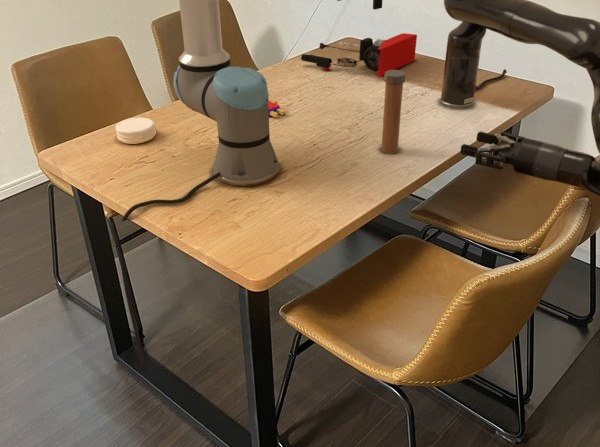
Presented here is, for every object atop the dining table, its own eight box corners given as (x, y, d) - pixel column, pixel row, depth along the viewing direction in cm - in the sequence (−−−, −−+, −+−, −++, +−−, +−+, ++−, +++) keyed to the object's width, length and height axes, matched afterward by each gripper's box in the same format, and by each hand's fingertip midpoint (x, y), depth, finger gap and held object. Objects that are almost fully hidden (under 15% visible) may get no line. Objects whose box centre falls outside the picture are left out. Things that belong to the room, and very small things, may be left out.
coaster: (128, 148, 157) (126, 135, 155) (110, 136, 163) (108, 123, 162) (163, 136, 162) (161, 124, 161) (144, 125, 169) (142, 113, 167)
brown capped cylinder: (378, 149, 155) (382, 75, 144) (388, 144, 157) (393, 70, 147) (390, 154, 152) (396, 79, 142) (401, 149, 154) (407, 75, 144)
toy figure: (289, 106, 174) (261, 93, 181) (270, 113, 170) (242, 99, 177) (289, 115, 175) (261, 101, 182) (270, 121, 171) (243, 107, 178)
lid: (380, 80, 145) (380, 73, 144) (393, 75, 148) (393, 68, 147) (395, 85, 142) (396, 78, 141) (408, 80, 145) (409, 73, 144)
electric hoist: (300, 34, 205) (379, 49, 190) (342, 21, 224) (417, 33, 209) (299, 65, 210) (376, 81, 195) (341, 49, 229) (414, 63, 214)
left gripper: (410, -82, 149) (403, 9, 160) (338, -89, 165) (337, -6, 176) (388, -79, 145) (383, 15, 156) (317, -87, 161) (317, -2, 172)
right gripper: (555, 132, 134) (484, 116, 143) (532, 155, 125) (457, 137, 133) (549, 163, 138) (480, 146, 147) (526, 188, 128) (453, 168, 137)
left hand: (358, 4), depth 166 cm, fingers open, 13 cm apart
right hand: (469, 142), depth 140 cm, fingers open, 8 cm apart
